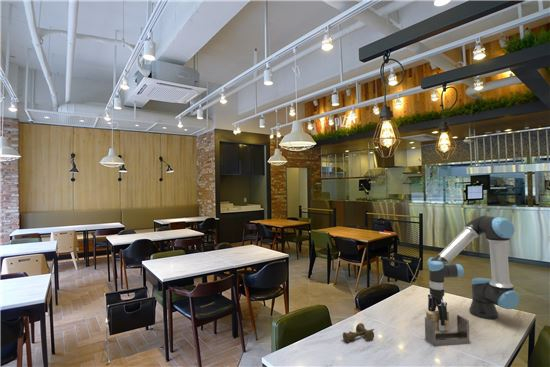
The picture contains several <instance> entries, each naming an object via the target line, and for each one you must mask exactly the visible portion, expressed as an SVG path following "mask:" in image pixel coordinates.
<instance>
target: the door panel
mask: <svg viewBox="0 0 550 367" xmlns="http://www.w3.org/2000/svg"><path fill="white" fill-rule="evenodd" d="M425 314H426V317H427V318H429V319H430V320H432V321H433V322H434V323H435V332H437V331H440V330H439V319H440V316H439V311H438V310H435V311H426V312H425ZM449 314H450V313H449V312H448V311H447V318H448V320H445V326H444V328H445V331H449V330H450V319H449V316H450V315H449Z"/></svg>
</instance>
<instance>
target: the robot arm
mask: <svg viewBox="0 0 550 367" xmlns="http://www.w3.org/2000/svg"><path fill="white" fill-rule="evenodd" d="M462 229H463V230H462V231H461V232H459V233H458V235H456V236H455V237H454V238H453V239H452V240H451V242H450V243H449V244H448V245H446V246H445V247H444V248H443V249H442V250H441V252H440V253H438V254H437V255H436V256H435V257H433V256H431V257H429V258H428V259H427V262H426V263H427V266H428V273H429V274H428V276H429V277H428V278H429V294H427V297H428V298H427V300H428V303H427V309H428V311H427V312H429V311H439V316H440V319H439V330H438V331H439V332H442V331H446V330H445V328H444V326H445V320H448V318H447V312H448V309H447V305H448V303H447V302H446V301H444V298H443V297H445V279H446V278H460V277H463V276H464V274H465V270H464V267H463V266H462V265H461V263H460V264H459V263H451V262H452V261H453V259H455V258H456V257H457V256H459V254H460V253H461V252H462V251H463V250H464V249H465V248H466V247H467V246H468V245H469V244H470V243H471V242H472V241H473V240H474V239H475V238H479V237H480V236H481V235H485V240H486V241H488V246H489V257H490V259H489V260H490V271H491V278H489V277H488V278H487V277H473V278H472V279H471V294H472V295H471V298H472V299H471V300H472V301H471V303H470V306H469V310H468V311H469V313H470V314H471V315H473V316H475V317H477V318H480V319H486V320H496V319H498V318H499V312H498V310H497V308H496V306H497V307H500V308H503V309H505V310H512V309H515V308H516V307H517V306H518V305H519V304H520V294H519V293H518V292H517V291H515V290H514V284H512V283H511V279H510V269H509V268H510V267H509V265H510V264H509V253H508V242H509V241H510V240H511V239H510V238H512V237H513V236H514V234H515V226H514V224H513V222H512V221H511V220H510V219H508V218H504V217H500V216H490V215H489V216H488V215H480V216H477V217H475V218H473V219H472V220H470V221H468V223H466V224H465V225H464V226H463V228H462ZM436 309H437V310H436Z"/></svg>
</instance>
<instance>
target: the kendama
mask: <svg viewBox="0 0 550 367" xmlns="http://www.w3.org/2000/svg"><path fill="white" fill-rule="evenodd" d="M374 331H375V329H374V328H373V329H372V328H371V329H367V328H365V324H364V323H362V322H361V323H358V324H356V326H355V332H352V331H349V332H345V331H344V332H342V339H343V341H344V342H345V343H346V344H347V343H349V342H350V341H351V340H352V341H355V338H358V337H359V336H362V335H363V336H364V337H365V339H366V341H367V342H371V341H372V340H374V338H375V333H374Z"/></svg>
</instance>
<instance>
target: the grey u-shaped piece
mask: <svg viewBox="0 0 550 367" xmlns="http://www.w3.org/2000/svg"><path fill="white" fill-rule="evenodd" d="M456 322H457V324H456V326H457V327H456V328H457V330H456V331H449V332H438V333H436V331H435V323H434V322H433V321H432V320H430V319H429V318H427V317H424V332H425V333H424V338H425V340H426V341H427V342H428V343H429V344H430V345H431V346H433V347H439V346H440V347H441V346H452V345H453V346H454V345H466V344H470V320H469V319H467V318H465V317H463V316H462V315H460V314H457V315H456Z"/></svg>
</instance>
